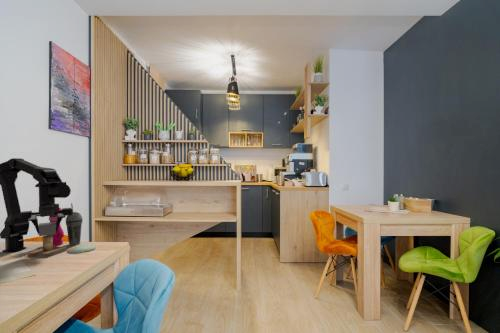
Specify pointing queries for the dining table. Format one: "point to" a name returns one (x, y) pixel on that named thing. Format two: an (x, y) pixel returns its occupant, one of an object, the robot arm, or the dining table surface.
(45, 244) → the post block
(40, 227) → the gray square block
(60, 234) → the pepper mill
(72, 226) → the beverage cup
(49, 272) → the dining table surface
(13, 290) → the dining table surface
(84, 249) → the mat
